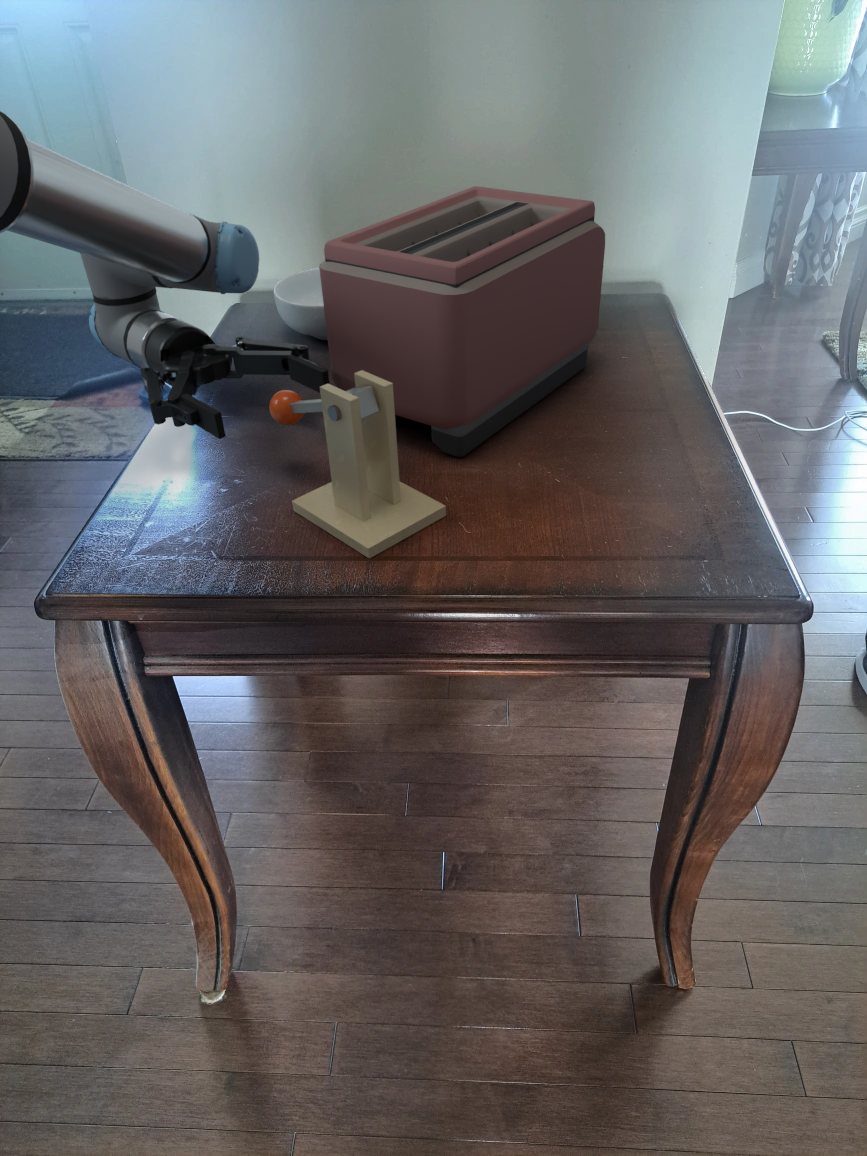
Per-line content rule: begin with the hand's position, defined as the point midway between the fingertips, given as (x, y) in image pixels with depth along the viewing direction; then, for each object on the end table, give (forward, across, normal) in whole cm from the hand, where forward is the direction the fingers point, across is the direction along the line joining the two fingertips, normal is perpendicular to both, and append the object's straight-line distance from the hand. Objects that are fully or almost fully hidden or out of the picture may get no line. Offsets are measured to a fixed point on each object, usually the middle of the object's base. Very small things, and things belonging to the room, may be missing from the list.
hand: (275, 403), depth 87 cm
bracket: (+14, 0, -7) cm, 16 cm away
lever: (+9, 0, +1) cm, 9 cm away
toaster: (+2, -29, -8) cm, 30 cm away
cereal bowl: (-27, -29, -8) cm, 40 cm away
